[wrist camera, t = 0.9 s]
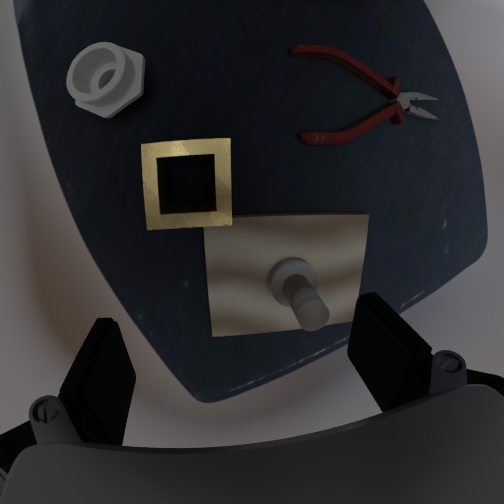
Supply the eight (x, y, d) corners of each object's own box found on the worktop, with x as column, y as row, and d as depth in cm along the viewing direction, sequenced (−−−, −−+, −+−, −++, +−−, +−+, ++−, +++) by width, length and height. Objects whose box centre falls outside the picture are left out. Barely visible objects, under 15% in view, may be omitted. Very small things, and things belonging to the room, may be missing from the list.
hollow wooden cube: (155, 146, 25) (141, 144, 19) (226, 141, 26) (230, 138, 20) (159, 214, 27) (147, 230, 22) (227, 210, 28) (232, 225, 23)
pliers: (435, 150, 29) (448, 152, 27) (296, 146, 27) (304, 145, 25) (427, 71, 25) (439, 68, 23) (286, 47, 23) (292, 38, 21)
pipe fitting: (154, 54, 21) (136, 24, 14) (151, 118, 24) (129, 106, 16) (98, 64, 21) (65, 42, 13) (94, 126, 23) (57, 121, 16)
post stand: (203, 216, 28) (200, 245, 20) (363, 212, 30) (412, 235, 22) (212, 330, 33) (214, 385, 24) (349, 316, 35) (382, 358, 27)
